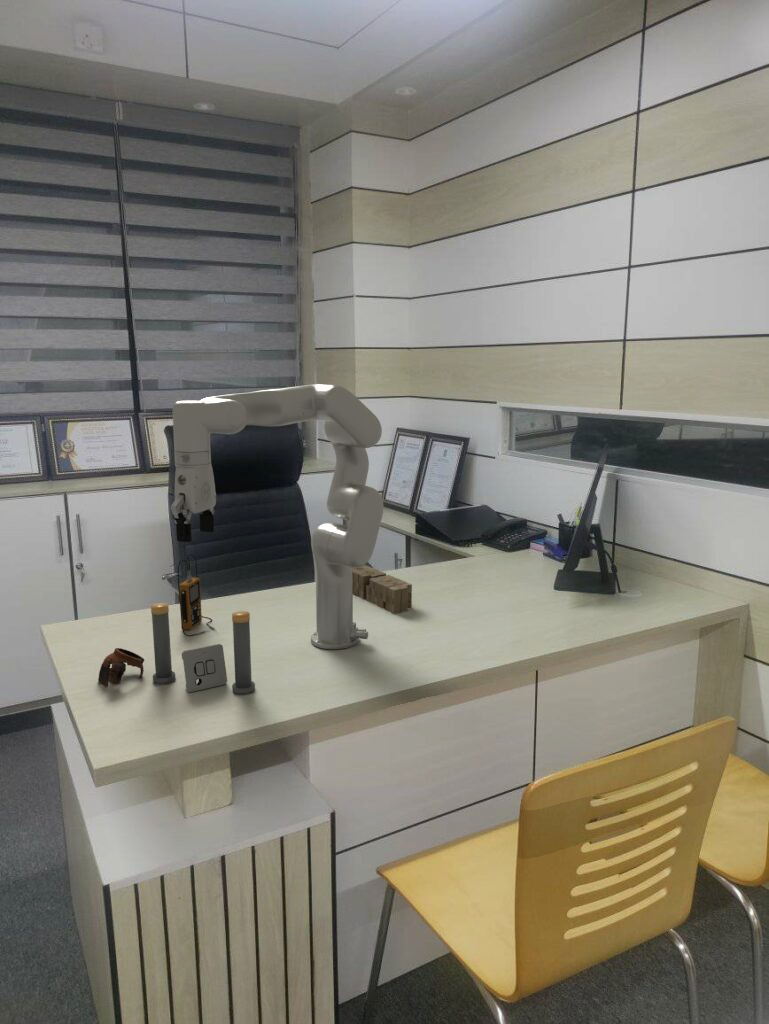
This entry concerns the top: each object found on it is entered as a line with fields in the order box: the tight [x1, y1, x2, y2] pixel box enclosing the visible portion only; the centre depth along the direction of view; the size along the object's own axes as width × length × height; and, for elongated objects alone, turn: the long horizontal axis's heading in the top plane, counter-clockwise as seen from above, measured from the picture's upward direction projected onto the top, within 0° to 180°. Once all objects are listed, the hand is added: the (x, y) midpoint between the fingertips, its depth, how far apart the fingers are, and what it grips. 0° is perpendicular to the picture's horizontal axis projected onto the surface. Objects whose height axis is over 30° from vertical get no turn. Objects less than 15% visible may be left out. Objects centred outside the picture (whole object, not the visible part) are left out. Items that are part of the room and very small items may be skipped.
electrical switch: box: [181, 643, 228, 693], centre depth 168 cm, size 9×5×9 cm, turn 121°
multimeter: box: [177, 554, 218, 637], centre depth 202 cm, size 15×10×20 cm
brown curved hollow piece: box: [97, 647, 145, 688], centre depth 170 cm, size 12×10×8 cm
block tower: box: [351, 564, 413, 615], centre depth 228 cm, size 8×8×29 cm
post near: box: [231, 610, 256, 696], centre depth 164 cm, size 5×5×18 cm
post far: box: [150, 602, 176, 686], centre depth 169 cm, size 5×5×18 cm
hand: (196, 536), depth 162 cm, fingers open, 9 cm apart
